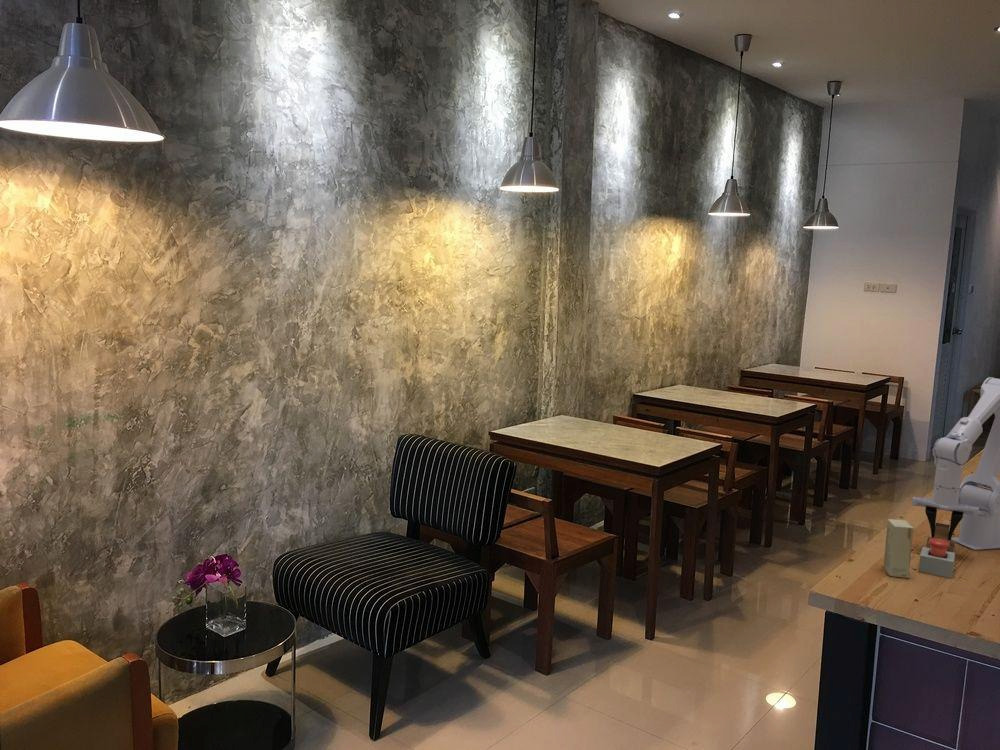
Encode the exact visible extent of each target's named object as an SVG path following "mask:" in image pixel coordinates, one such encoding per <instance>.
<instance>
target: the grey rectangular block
mask: <svg viewBox="0 0 1000 750" xmlns="http://www.w3.org/2000/svg"><path fill="white" fill-rule="evenodd" d="M955 558H956V552H954V551H953V552H947V551H946V558H941V557H936V556H931V555H930V548H926V546H922V547H921V551H920V557H919V565H918V572H919V571H921V572H920V573H923V572H925V574H928V573H929V574H930V575H934V576H939V577H945V578H948V579H953V573H954V567H955ZM929 574H928V575H929Z"/></svg>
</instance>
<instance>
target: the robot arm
mask: <svg viewBox="0 0 1000 750" xmlns="http://www.w3.org/2000/svg"><path fill="white" fill-rule="evenodd" d="M978 399H979V400H978V401H977V403H976V404H975V405H974V407H973V409H972V410H971V411H970V414H968V416H964V417H961V418H960V419H959V420H958V421H957V422H956V424H955V425H954V427H952V429H951V430H950V431H949V432H948V434H947V435H946V436H944V437H941V438H938V439H937V440H936V441H935V443H934V444H933V445H934V446H933V448H932V455H933V458H934V462H933V463H934V466H935V467H936V468H935V476H934V484H933V491H932V492H933V493H932V498H930V497H929V498H928V497H918V496H913V497H912V500H911V501H912V502H911V506H912V507H921V508H925V509H924V511H925V515H926V517H927V521H928V522H929V523H928V524H929V527H930V535H931V536H930V537H933V538H934V535H935V526H936V523H937V521H936V520H937V513H938V510H941V511H946V512H951V515H950V524H949V525H950V527H949V534H948V540H949V541H955V543H958V544H960V545H962V546H964V547H966V548H969V549H970V550H973V551H977V550H979V551H980V550H991V549H992V550H993V549H1000V480H999V477H1000V378H995V377H993V376H989V377H987V378H986V379H985V380H984V381H983V382H982V384H981V387H980V398H978ZM993 414H994V420H993V423H992V426H991V429H990V431H989V434H988V437H987V440H986V441H985V445H984V448H983V450H982V455H981V457H980V459H979V462H978V465H977V468H976V471H975V472H973V473H970V474H969V475H966V476H964V477H963V480H962V476H963V475H962V474H963V468H964V467H963V466H964V464H966V462H967V461H968V460H969V459H970V455H971V451H972V449H973V445H974V443H975V442H976V441H977V439H978V438H979V437H980V436H981V434H982V433H983V432H984V431H983V424H984V423H985V422H987V420H988V419H989V418H990V417H991V416H992V415H993ZM959 523H960V526H959V536H955V537H953V534H954V532H955V530H956V528H957V527H958V525H959Z"/></svg>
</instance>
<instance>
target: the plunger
mask: <svg viewBox="0 0 1000 750" xmlns="http://www.w3.org/2000/svg"><path fill="white" fill-rule="evenodd" d="M929 544H931V547H930V555H931V556H936V557H941V558H946V551H947V547H949V546H950V542H948V541H946V540H943V539H938V538H931V539H929Z"/></svg>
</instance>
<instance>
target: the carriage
mask: <svg viewBox="0 0 1000 750" xmlns="http://www.w3.org/2000/svg"><path fill="white" fill-rule="evenodd" d="M949 530H950V524H946V523H940V522H936V523H935V535H934V538H938V539H943V540H946V541H948V542H950V546H949V547H947V552H953V553H954V550H955V543H956V542H955V541H953V540H951V541H949V540H948V534H949ZM931 538H933V537H931V536H930V535H929V536H927V540H926V544H925V547H926V548H930V547H931V544H929V539H931Z"/></svg>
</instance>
